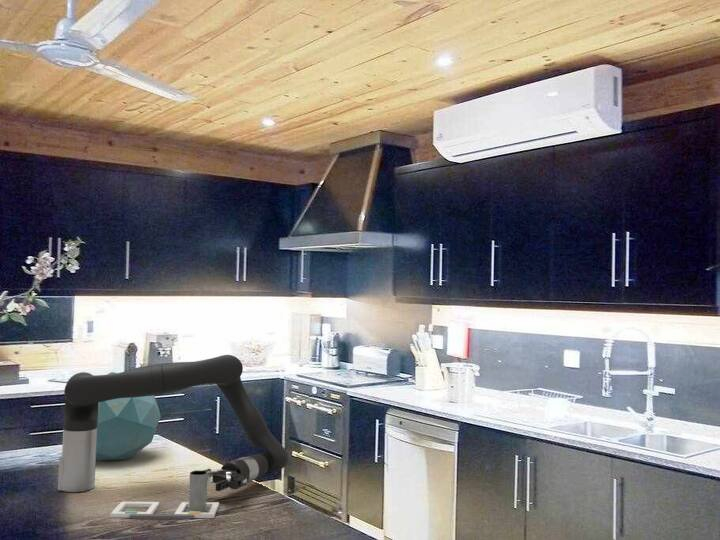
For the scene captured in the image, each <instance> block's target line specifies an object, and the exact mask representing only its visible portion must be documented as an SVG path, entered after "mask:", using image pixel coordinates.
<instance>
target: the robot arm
mask: <svg viewBox="0 0 720 540" xmlns="http://www.w3.org/2000/svg"><path fill="white" fill-rule="evenodd" d="M243 370H244V368H243V363H242V362H241V360H240V358H238V357H237V356H235V355H232V354H224V355H219V356H216V357H211V358H207V359H203V360H201V359H200V360H197V361H195V360H194V361H180V362H179V361H178V362H177V361H176V362H162V363H156V364H155V363H154V364H148V365H143V366H139V367H135V368H132V369H128V370H124V371H122V372H116V373H117V374H110V375H107V374H96V375H95V374H91V372H90V373H89V372H78V373H75V374H73V375H72V376H70V378H68V380H67V382H66V384H65V387H64V391H63V392H64V397H65V398H64V414H63V423H62V424H63V429H62V430H63V431H62V446H61V447H62V450H61V455H60V456H59V458H58V478H57V491H63V492H67V493H78V492H79V493H80V492H86V491H89V490H92V489H94V488H95V485H96V484H95V483H96V465H97V464H96V463H97V459H96V445H97V423H98V403H99V402H103V401H108V400H112V399H118V398H133V397H144V396H159V395H167V394H171V393H175V392H179V391H182V390H183V391H184V390H185V389H190V388H192V387H196V386H203V385H217V387H218V388H219V390H221V393H222V394H223V395H224V396H225V398H226V399H227V402H228V403H229V404H230V407H231V408H232V410H233V412H234V414H235V416H236V418H237V421H238V423H239V424H240V427H241V428H242V431H243V432H244V434H245V436H246V438H247V441H248V443H249V444H250V446H251V447H254V448H257V447H263V448H264V449H265V450H264V451H262V452H261V453H256V454H251V455H248V456H243V457H239V458H237V459H233V460H231V461H226V462H225V463H224V464H223V465H222V467H221V468H220V469H216V470H212V469H211V468H207V469H204V470H202V471H207V473H208V474H207V486H210V485H211V486H212V485H215V492H221V491H224V490H229V489H231V490H238V489H240V488H242V487H244V486H247V485H248V484H250V483H251V482H253V481H255V480H257V479H260V478H262V477H267V476H269V475H272V474H274V473H275V472H278V471H279V470H282V469H284V468H285V467H286V466H287V465H288V464H289V455H288V452H287V450H286V448H285V447H284V446H283V445H282V444H281V443H280V442H279V441H278V439H277V438H276V437H275V435H273V433H271V431H270V429H269V427H268V425H267V423H266V421H265V419H264V417H263V415H262V414H261V413H260V411H259V409H258V408H257V406H256V405H255V404H254V401H253V400H252V399H251V398H250V396H249V395H248V393H247V390H246V389H245V387H244V384H243V381H242V379H241V376H242V374H243ZM211 478H212V479H211ZM211 480H212V481H211Z"/></svg>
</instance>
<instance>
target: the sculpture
mask: <svg viewBox="0 0 720 540" xmlns="http://www.w3.org/2000/svg"><path fill="white" fill-rule="evenodd" d="M117 373H118V372H113V371H111V372H110V373H109V372H108V373H107V374H106V375H110V374H117ZM160 419H161V412H160V409H159V405H158V402H157V400H156V395H154V396H144V397H133V398H118V399H112V400H108V401H103V402H99V403H98V423H97V445H96V461H99V462H104V461H105V462H107V461H106V460H109V461H125V460H126V461H127V460H130V459H131V458H132V457H134V456H135V455H136V454H137V453H139V452H140V451H142V450H143V449H145V448H146V447H147V446H149V445H150V444H151V443H152V442H153V439H154V437H155V434H156V430H157V429H158V428H157V427H158V424H159V422H160V421H161V420H160Z"/></svg>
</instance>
